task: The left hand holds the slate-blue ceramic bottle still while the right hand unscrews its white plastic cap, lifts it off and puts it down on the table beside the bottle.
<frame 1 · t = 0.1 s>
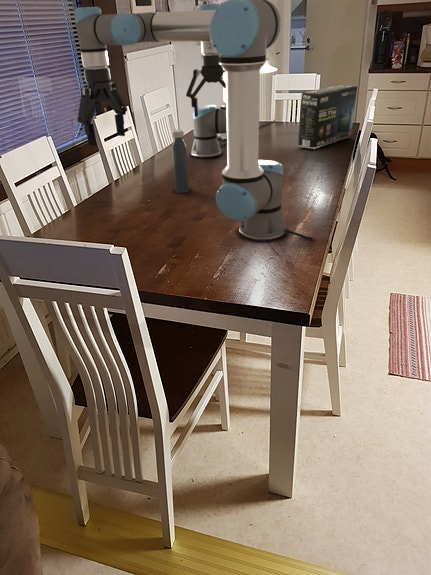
left hand: (213, 116, 175), 28 cm above the table, tool pointing down, fingers open, 13 cm apart
right hand: (107, 140, 148), 28 cm above the table, tool pointing down, fingers open, 13 cm apart
bottle: (182, 190, 188), on the table
fossil: (229, 138, 262), on the table
router box: (325, 143, 245), on the table
cap: (177, 131, 175), point 23 cm above the table, screwed on, not yet turned
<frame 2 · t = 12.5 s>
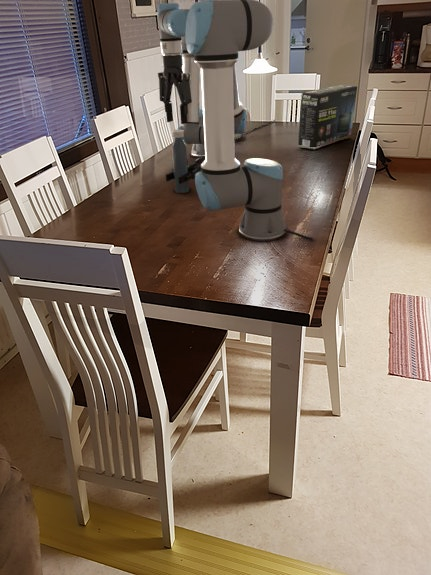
left hand: (173, 179, 181), 6 cm above the table, tool horizontal, fingers closed on bottle, 6 cm apart
right hand: (177, 122, 174), 27 cm above the table, tool pointing down, fingers open, 7 cm apart
bottle: (182, 190, 188), on the table, touching left hand
everything else where it was.
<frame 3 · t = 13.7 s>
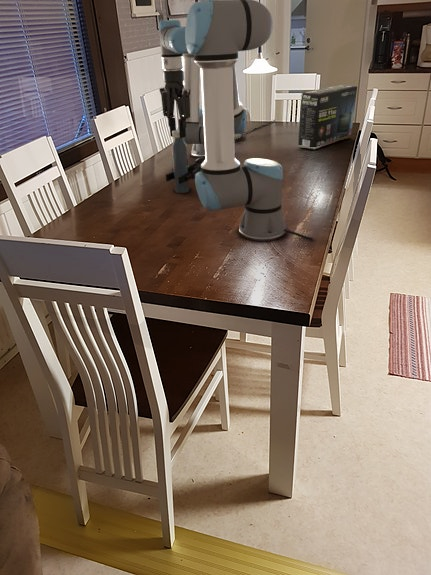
left hand: (173, 179, 181), 6 cm above the table, tool horizontal, fingers closed on bottle, 6 cm apart
right hand: (178, 136, 176), 22 cm above the table, tool pointing down, fingers closed on cap, 4 cm apart
bottle: (182, 190, 188), on the table, touching left hand
cap: (177, 131, 175), point 23 cm above the table, screwed on, not yet turned, touching right hand
everything else where it was.
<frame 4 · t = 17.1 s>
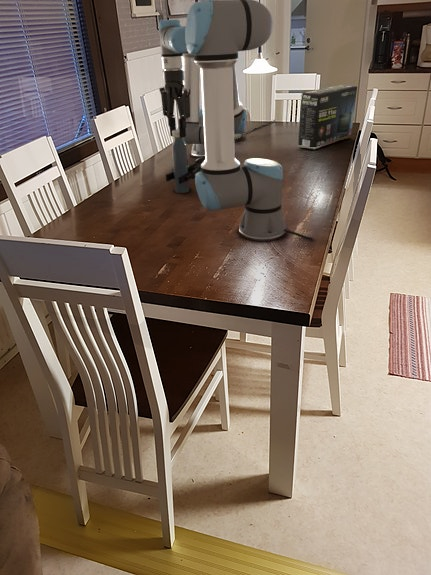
left hand: (173, 179, 181), 6 cm above the table, tool horizontal, fingers closed on bottle, 6 cm apart
right hand: (178, 136, 176), 22 cm above the table, tool pointing down, fingers closed on cap, 4 cm apart
bottle: (182, 190, 188), on the table, touching left hand
cap: (177, 131, 175), point 24 cm above the table, turned 109° so far, risen 0.1 cm, still on its thread, touching right hand
everything else where it was.
when the right hand's fingers open (1 cm above the table, at t = 33.4 s): cap stays where it is, point 2 cm above the table.
when the left hand's fingers open (6 cm above the table, at t = 34.6 s): bottle stays where it is, on the table.
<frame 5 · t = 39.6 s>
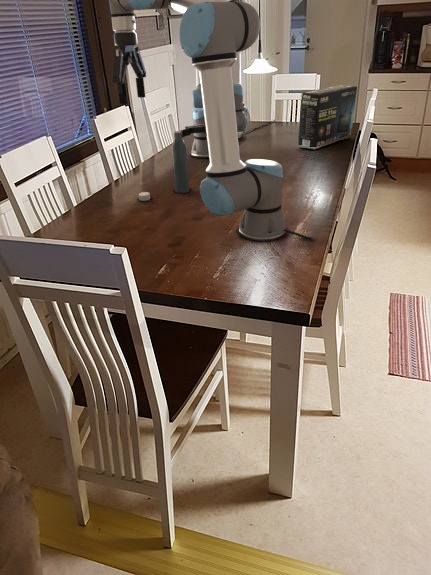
left hand: (193, 136, 184), 20 cm above the table, tool horizontal, fingers open, 13 cm apart
right hand: (133, 100, 162), 36 cm above the table, tool pointing down, fingers open, 13 cm apart
bottle: (182, 190, 188), on the table
cap: (144, 194, 180), point 2 cm above the table, off its thread
everything else where it was.
at the end: cap came off its thread; cap point 1.8 cm above the table; the left hand is holding nothing; the right hand is holding nothing; bottle tilted 0°; bottle moved 0.0 cm from its start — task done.
